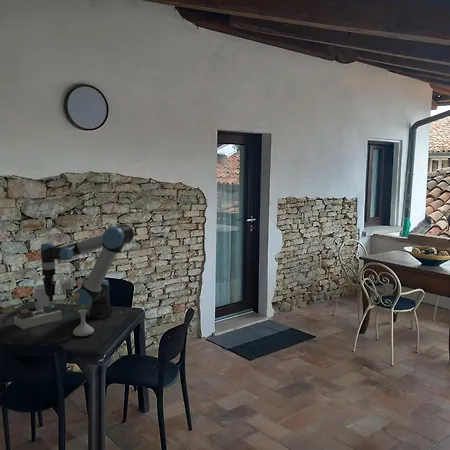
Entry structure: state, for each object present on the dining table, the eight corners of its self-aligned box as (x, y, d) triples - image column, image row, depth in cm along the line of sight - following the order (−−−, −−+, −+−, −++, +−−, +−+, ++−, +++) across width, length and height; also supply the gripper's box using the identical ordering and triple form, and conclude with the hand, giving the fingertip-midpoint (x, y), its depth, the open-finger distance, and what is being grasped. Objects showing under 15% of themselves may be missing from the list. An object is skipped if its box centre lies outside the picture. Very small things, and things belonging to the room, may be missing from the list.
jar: (46, 311, 305) (44, 288, 303) (31, 310, 307) (30, 288, 305) (55, 306, 315) (54, 284, 313) (41, 305, 317) (40, 283, 315)
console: (62, 319, 290) (61, 307, 289) (23, 329, 273) (22, 316, 272) (52, 314, 298) (52, 303, 297) (14, 324, 281) (13, 312, 280)
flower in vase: (86, 329, 272) (84, 287, 269) (98, 333, 265) (96, 290, 262) (66, 335, 262) (64, 292, 259) (78, 340, 255) (76, 295, 252)
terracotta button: (30, 313, 279) (30, 310, 279) (22, 315, 276) (22, 312, 275) (26, 311, 282) (26, 308, 282) (19, 313, 279) (19, 310, 278)
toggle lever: (40, 310, 285) (37, 297, 286) (37, 311, 283) (34, 298, 284) (39, 311, 286) (36, 298, 287) (35, 312, 285) (32, 299, 285)
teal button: (55, 309, 290) (55, 306, 290) (49, 311, 287) (48, 307, 287) (52, 307, 293) (52, 304, 293) (45, 309, 290) (45, 306, 290)
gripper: (37, 267, 289) (39, 305, 292) (47, 271, 280) (49, 309, 283) (49, 265, 294) (51, 302, 297) (59, 269, 285) (61, 306, 288)
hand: (50, 305), depth 290 cm, fingers closed
